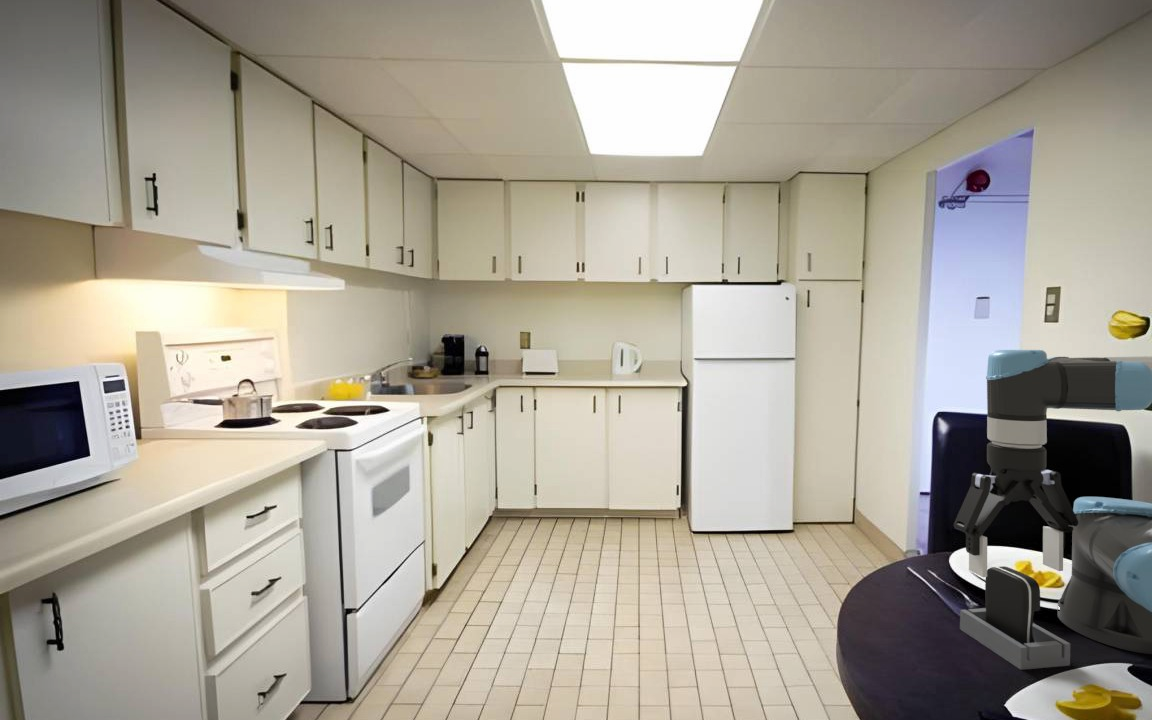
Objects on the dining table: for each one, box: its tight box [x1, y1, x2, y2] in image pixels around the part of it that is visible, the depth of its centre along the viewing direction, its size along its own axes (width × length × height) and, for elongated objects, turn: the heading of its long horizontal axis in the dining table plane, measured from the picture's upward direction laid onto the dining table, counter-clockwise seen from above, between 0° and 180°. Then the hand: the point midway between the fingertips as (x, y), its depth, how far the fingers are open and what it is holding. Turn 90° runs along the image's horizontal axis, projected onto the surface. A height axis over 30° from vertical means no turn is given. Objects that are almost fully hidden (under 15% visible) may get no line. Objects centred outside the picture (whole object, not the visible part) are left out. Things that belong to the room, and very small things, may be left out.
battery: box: [984, 566, 1041, 645], centre depth 88 cm, size 7×4×11 cm, turn 12°
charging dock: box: [959, 607, 1071, 671], centre depth 88 cm, size 8×12×4 cm
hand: (1015, 570), depth 87 cm, fingers open, 13 cm apart
